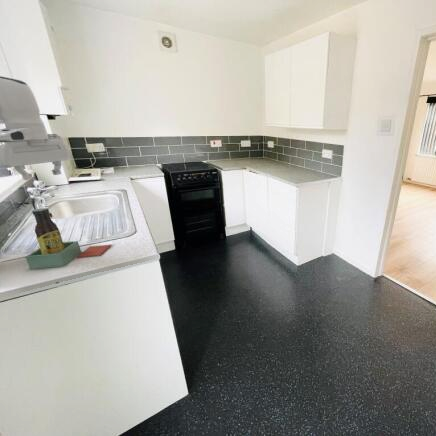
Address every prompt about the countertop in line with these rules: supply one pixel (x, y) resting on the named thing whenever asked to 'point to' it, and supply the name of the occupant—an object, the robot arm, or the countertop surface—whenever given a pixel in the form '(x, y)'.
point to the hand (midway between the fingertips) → (43, 176)
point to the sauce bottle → (47, 233)
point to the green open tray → (54, 256)
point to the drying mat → (94, 251)
